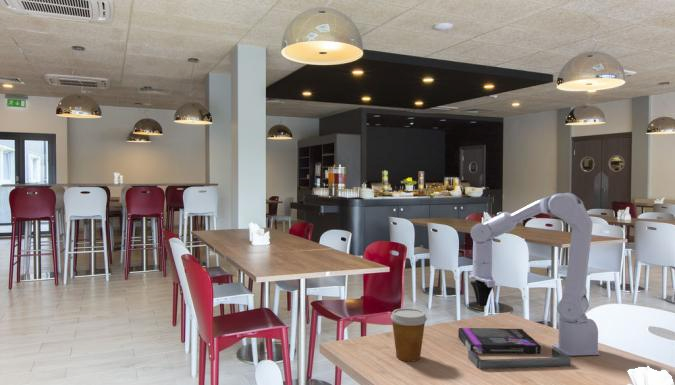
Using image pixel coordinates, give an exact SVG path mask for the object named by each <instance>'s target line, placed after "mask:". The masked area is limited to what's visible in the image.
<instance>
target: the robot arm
mask: <svg viewBox="0 0 675 385" xmlns="http://www.w3.org/2000/svg"><path fill="white" fill-rule="evenodd" d="M539 214H553V215H554V216H556V217H557V218H559V219H561V220H563V221H564V222H565V223H566V224H567V225H568V226H569V227H570V228H571V237H570V244H569V254H568V261H567V272H566V281H565V285H564V288H563V291H562V297H561V300H559V302H558V304H557V312H558V314H559V315H558V342H557V343H552V344H551V346H552V348H556V349H557V350H559V351H560V352H562V353H564V354H565V355H567V356H568V357H570V356H572V357H573V356H574V357H575V356H598V355H600V352H599V350H598V349H599V346H598V345H599V329H598V326H597V323H596V321H595V320H594V319H592V318H588V316H587V315H586V312H587V311H588V310H589V308H590V303H589V299H588V296H587V293H588V292H587V291H588V290H587V286H586V284H587V278H588V277H587V276H588V269H589V268H588V267H589V259H590V251H591V250H590V249H591V241H592V235H593V234H592V233H593V220H592V219H591V217H590V215H589V213H588V210H587V209H586V207H585V204H584V201H582V199H580V198H579V197H578V196H576V194H574V193H571V192H564V193H561V192H560V193H555V194H553V195H551V196H547V197H543V198H540V199H538V200H536V201H534V202H532V203H530V204H528V205H526V206H523V207H522V208H520V209H518V210H516V211H514V212H512V213H510V212H508V211H504V212H503V211H499V212H497V213H496V215H495V216H492V217H491V218H489V219H488V218H486V219H484V220H483V223H479V222H478V223H476V224H475V225H473V226H472V227H471V229H470V237H471V239H472V243H473V245H472V271H471V270H470V272H469V273H470V274H469V275H468V278H469V279H471V280H472V281H470V284H471V286H472V289H473V292H474V295H475V302H476V304H477V305H478V306H479V307H486V306H487V304H488V300H489V297H490V294H491V292H492V291H493V289H494V288H496V280H494V278H493V275H492V274H493V273H492V272H493V268H492V267H493V240H494V239H495V238H497V237H500V236H502V235H504V234H506V233H508V232H510V231H512V230H515V228H516V226H517V223H520V222H522V221H524V220H527V219H529V218H532V217H534V216H537V215H539ZM473 280H474V281H473Z"/></svg>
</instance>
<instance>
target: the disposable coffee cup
mask: <svg viewBox="0 0 675 385" xmlns="http://www.w3.org/2000/svg"><path fill="white" fill-rule="evenodd" d="M390 319H391V321H392V322H391V323H392V331H393V338H394V347H395V355H396V356H395V357H396V358H397V359H398V360H400V361H403V362H416V361H419V360H420V359H421V354H422V347H423V338H424V331H425V326H426V325H425V323H426V322H427V319H428V318H427V317H426V313H425V312H424V311H423V310H420V309H416V308H407V307H406V308H397V309H394V310H393V311H392V312H391V315H390Z"/></svg>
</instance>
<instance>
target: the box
mask: <svg viewBox="0 0 675 385" xmlns="http://www.w3.org/2000/svg"><path fill="white" fill-rule="evenodd" d="M457 330H458V331H457V332H458V335H457V336H458V339H459V340H460V341H461V343H462V344H463V346H464V347H465V349H466V350H467V352H468V351H473V352H474V353H475V354H476V355H477V354H478V355H483V354H485V355H486V354H487V355H542V345H541V344H540V343H539V342H537V341H536V340H535V339H534V338H533V337H532V336H530V335H529V333H527V332H526V331H525V330H524V329H523V328H502V327H501V328H500V327H498V328H496V327H495V328H494V327H493V328H492V327H491V328H489V327H487V328H485V327H477V328H476V327H458V329H457Z"/></svg>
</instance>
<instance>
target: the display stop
mask: <svg viewBox="0 0 675 385" xmlns="http://www.w3.org/2000/svg"><path fill="white" fill-rule="evenodd" d="M551 356H552V357H529V358H528V357H527V358H525V357H524V358H520V357H519V358H495V359H494V358H493V359H481V358H480V357H479V356H478V355H477V354H475V353H474V352H473V351H468V350H467V358H468V360H469V361H470V362H472V364H473V365H474V366H475V367H476V368H477V369H479V370H504V369H505V370H506V369H507V370H508V369H533V368H535V369H536V368H562V367H563V368H564V367H565V368H567V367H568V368H569V367H571V366H572V359H571V358H570V356H567V355H565V354H564V353H562V352H561V351H559V350H558V349H556V348H554V347H552V348H551Z"/></svg>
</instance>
